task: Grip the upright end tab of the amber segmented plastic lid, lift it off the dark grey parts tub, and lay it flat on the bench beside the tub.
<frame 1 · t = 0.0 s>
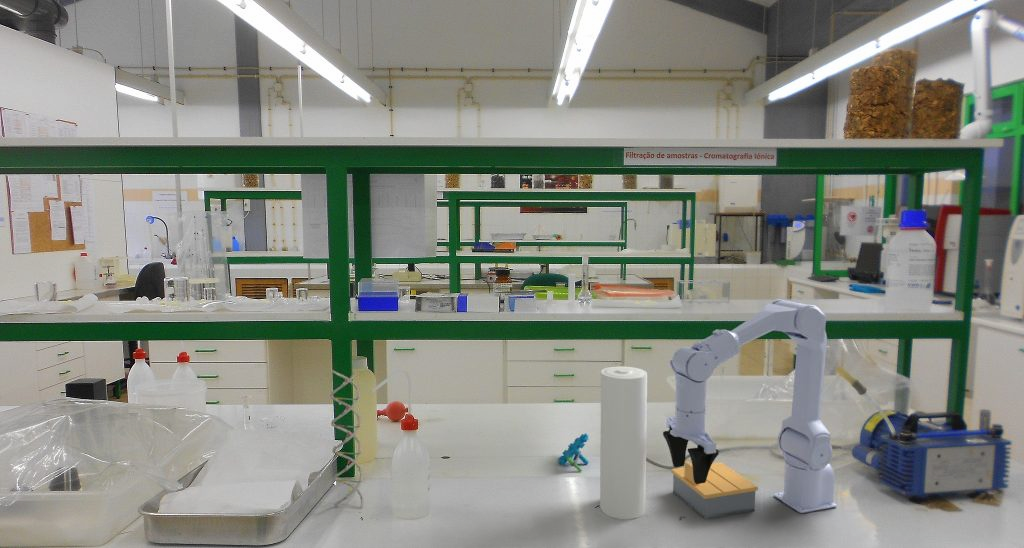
hand: (688, 474, 114), 10 cm above the countertop, tool pointing down, fingers open, 7 cm apart
tub: (712, 500, 124), on the countertop
cylinder container: (622, 508, 121), on the countertop
blue knobbly piece: (573, 465, 143), on the countertop
dna model: (349, 508, 122), on the countertop
lid: (713, 481, 123), point 4 cm above the countertop, touching tub
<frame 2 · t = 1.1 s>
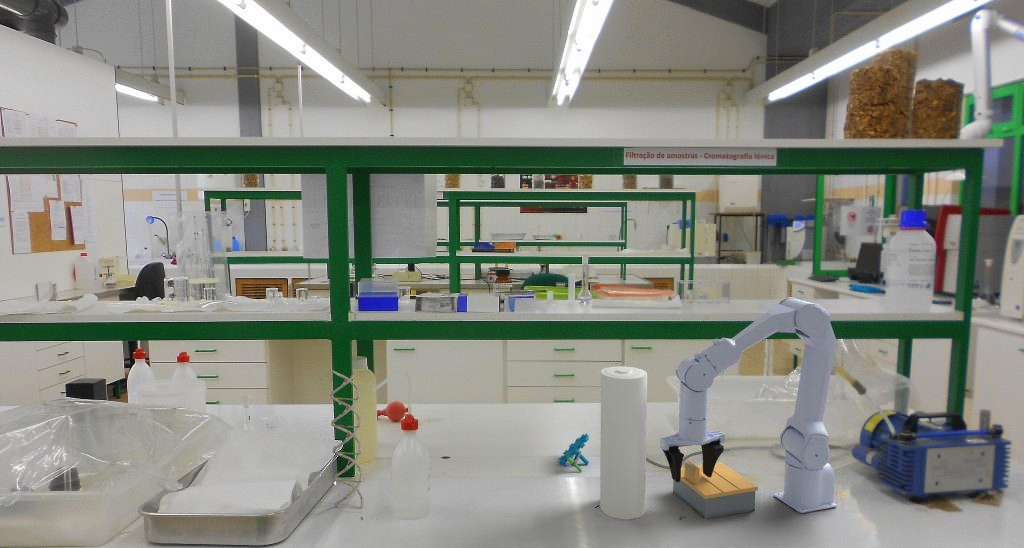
hand: (691, 477, 122), 6 cm above the countertop, tool pointing down, fingers open, 7 cm apart
nothing on the countertop moved.
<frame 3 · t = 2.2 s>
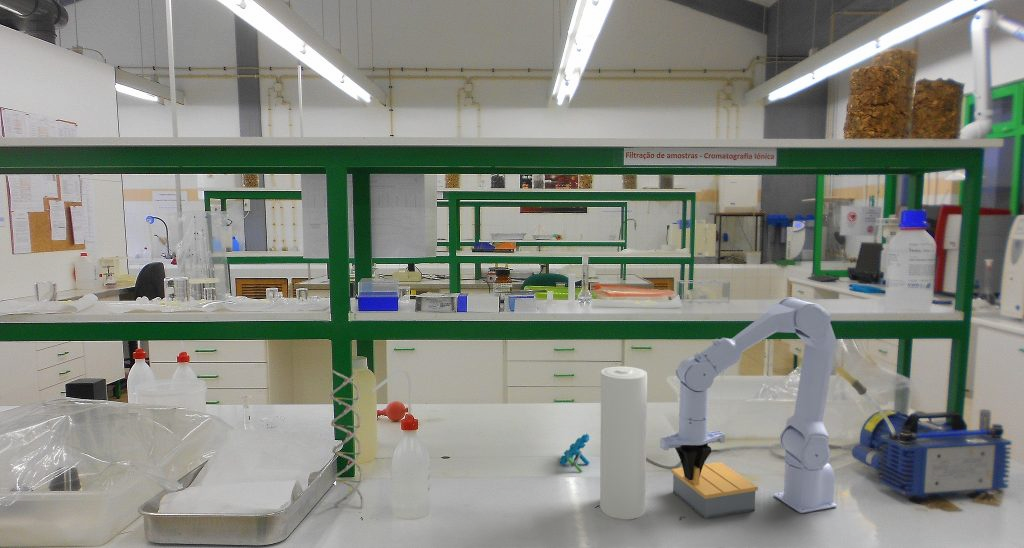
hand: (691, 477, 122), 6 cm above the countertop, tool pointing down, fingers closed on lid
lid: (713, 481, 123), point 4 cm above the countertop, touching gripper, tub
everything else where it was.
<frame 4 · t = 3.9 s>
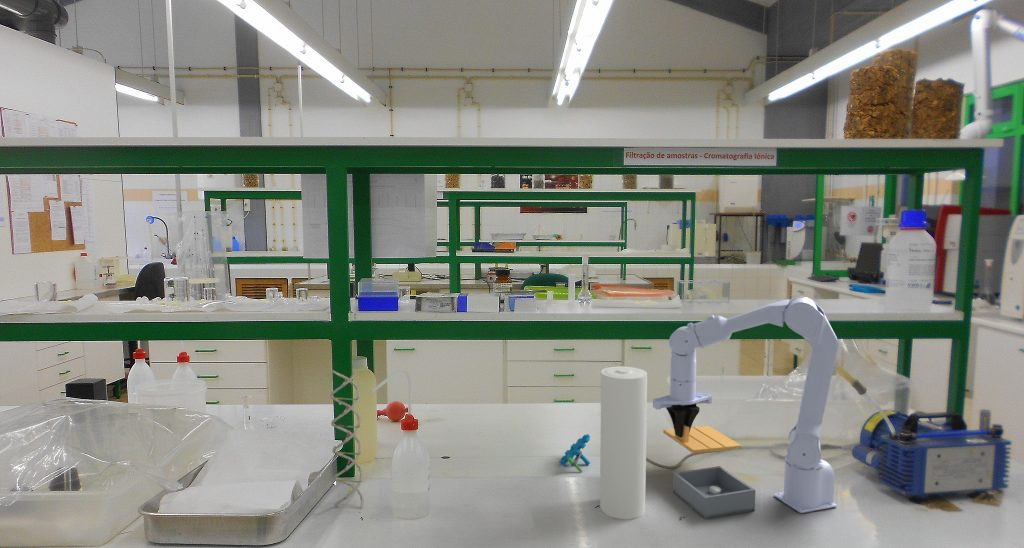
hand: (681, 435, 134), 10 cm above the countertop, tool pointing down, fingers closed on lid
lid: (701, 440, 135), point 9 cm above the countertop, touching gripper
everything else where it was.
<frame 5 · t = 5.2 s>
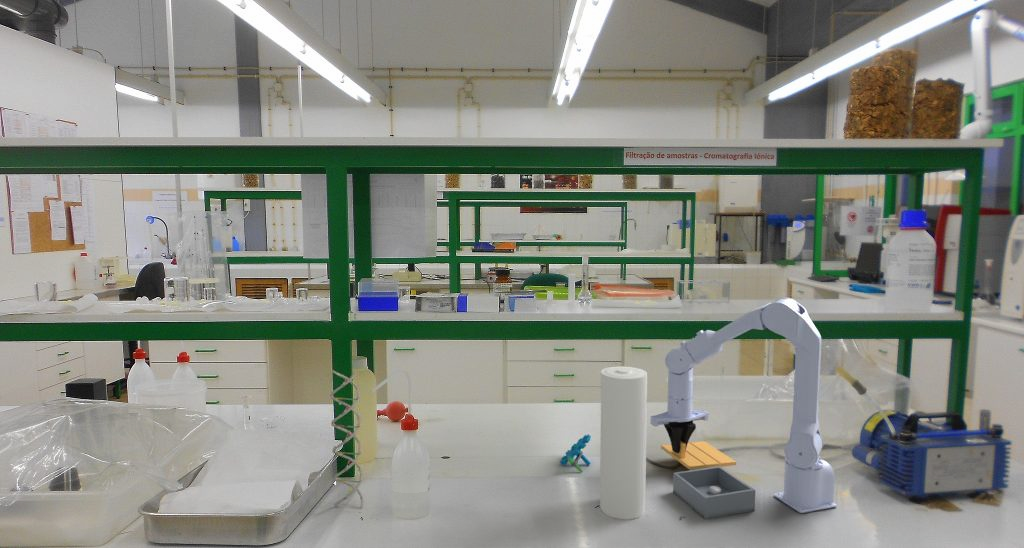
hand: (678, 451, 138), 5 cm above the countertop, tool pointing down, fingers closed on lid
lid: (697, 456, 139), point 3 cm above the countertop, touching gripper
everything else where it was.
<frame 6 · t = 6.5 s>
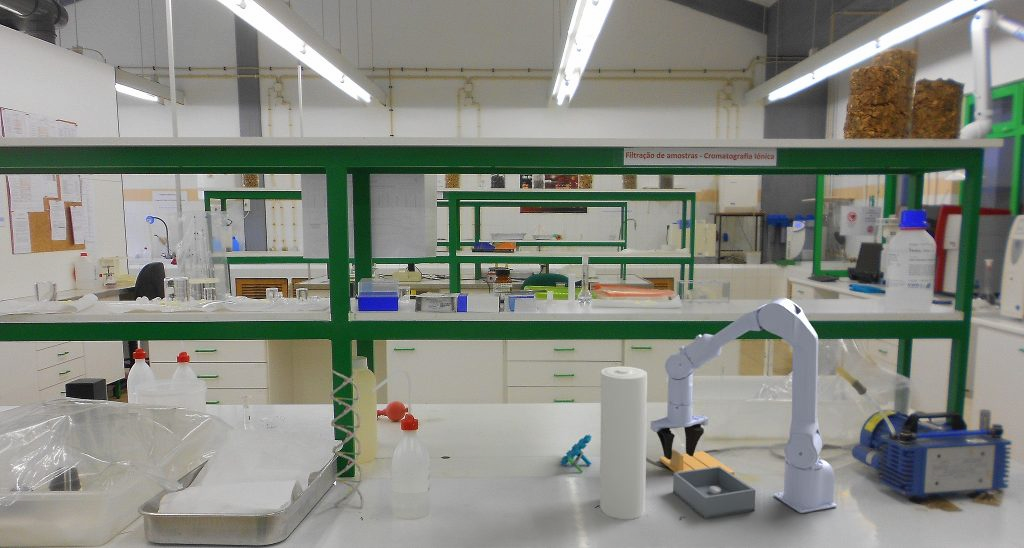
hand: (678, 456, 138), 4 cm above the countertop, tool pointing down, fingers open, 5 cm apart
lid: (695, 467, 140), on the countertop
everything else where it was.
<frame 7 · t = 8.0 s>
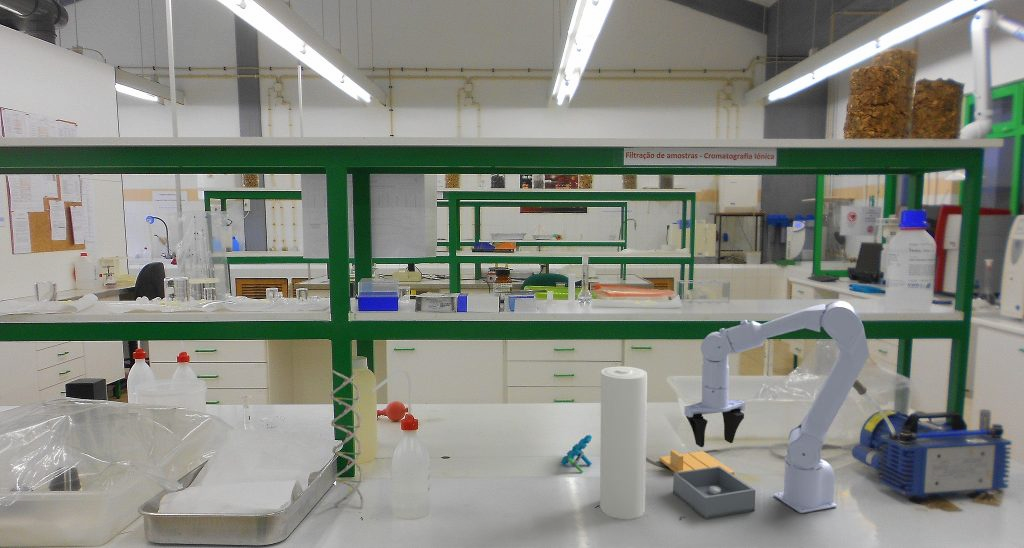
hand: (714, 443, 130), 10 cm above the countertop, tool pointing down, fingers open, 7 cm apart
nothing on the countertop moved.
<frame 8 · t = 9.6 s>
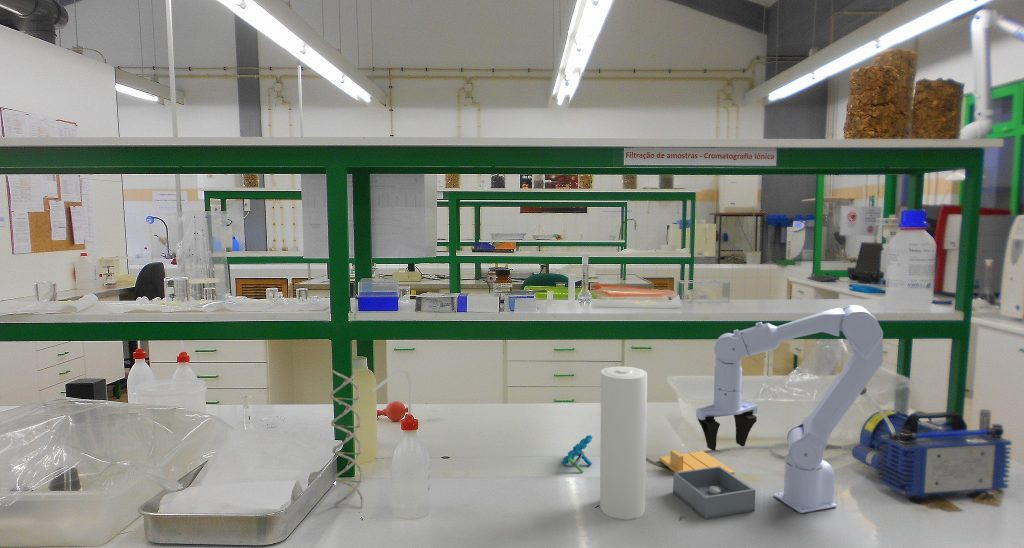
hand: (725, 446, 128), 10 cm above the countertop, tool pointing down, fingers open, 7 cm apart
nothing on the countertop moved.
at the end: lid touching countertop; lid inside the target area (0.7 cm from its centre), on the countertop; lid tilted 0° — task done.
